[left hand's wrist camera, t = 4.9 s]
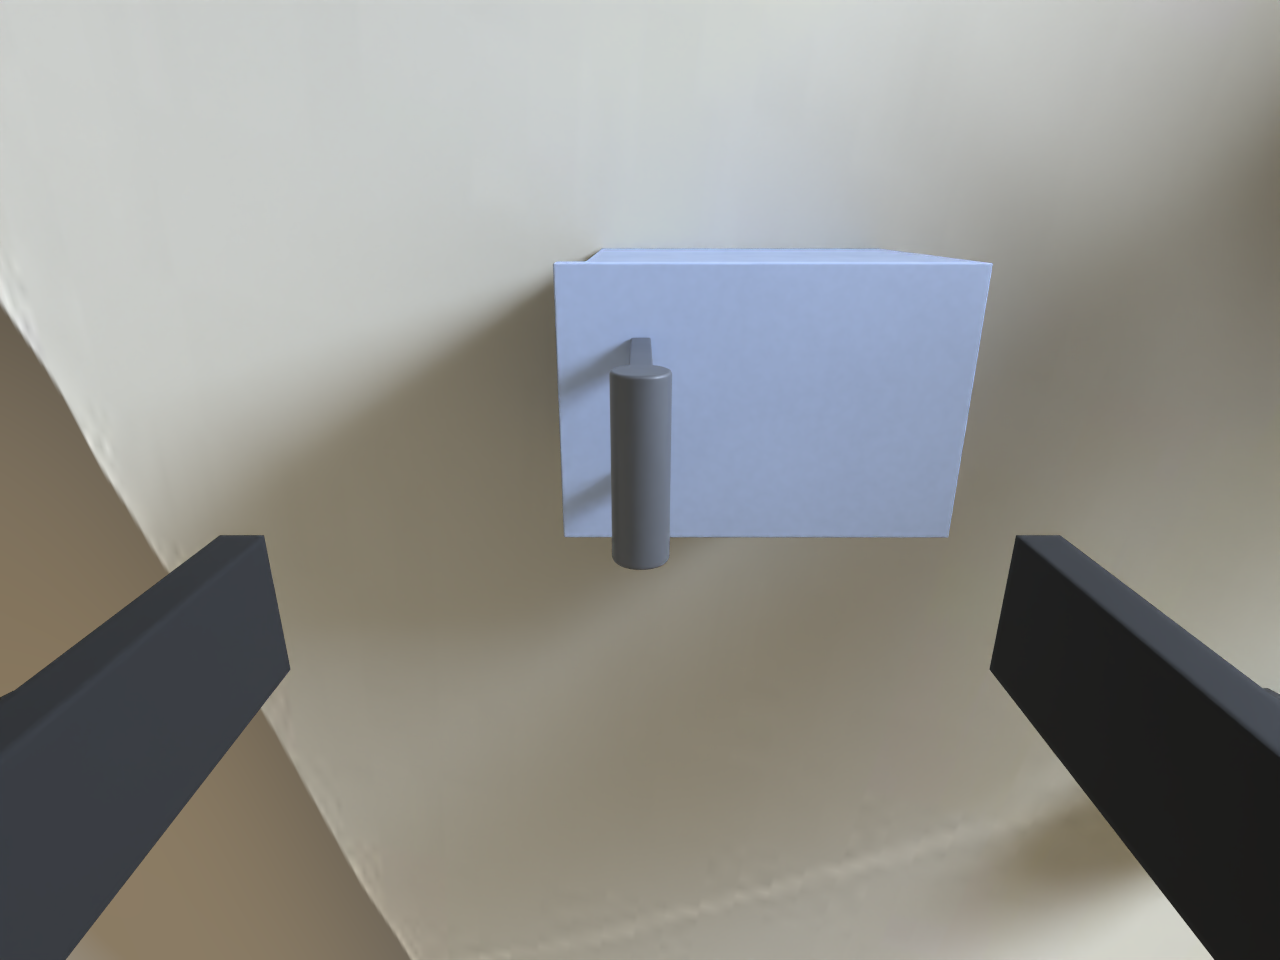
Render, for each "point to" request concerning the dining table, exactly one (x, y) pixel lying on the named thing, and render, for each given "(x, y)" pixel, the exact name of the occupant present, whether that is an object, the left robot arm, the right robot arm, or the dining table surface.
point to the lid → (762, 398)
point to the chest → (763, 255)
